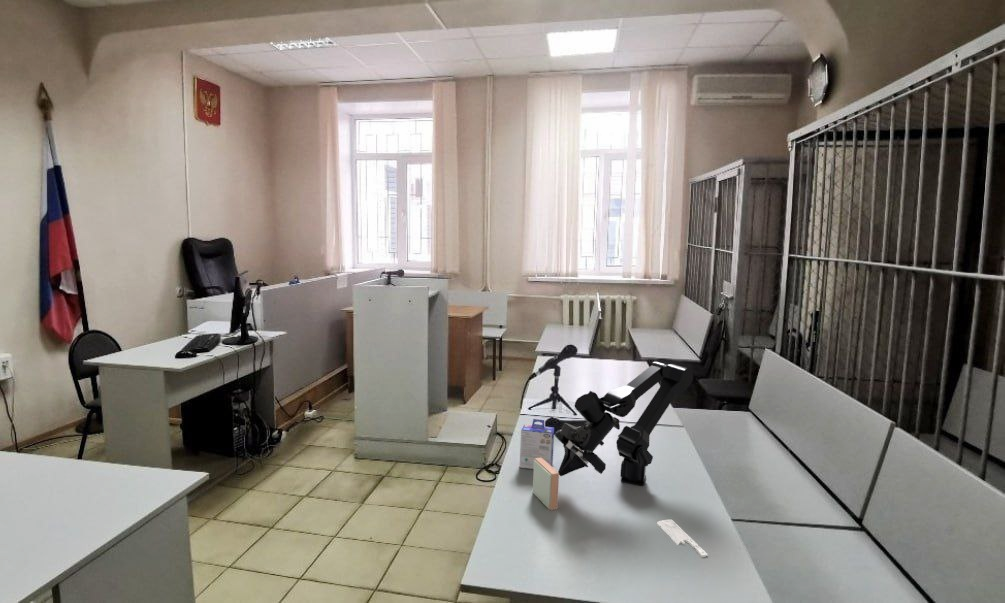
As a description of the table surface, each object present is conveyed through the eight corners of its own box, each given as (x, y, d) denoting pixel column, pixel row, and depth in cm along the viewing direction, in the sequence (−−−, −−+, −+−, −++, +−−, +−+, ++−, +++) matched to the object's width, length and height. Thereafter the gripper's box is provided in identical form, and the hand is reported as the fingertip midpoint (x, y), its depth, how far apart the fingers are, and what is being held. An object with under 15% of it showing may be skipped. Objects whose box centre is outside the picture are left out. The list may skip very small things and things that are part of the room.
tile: (539, 491, 148) (541, 457, 146) (557, 508, 138) (559, 473, 137) (532, 492, 147) (533, 458, 145) (549, 510, 138) (550, 474, 136)
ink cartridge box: (553, 464, 165) (555, 419, 163) (551, 472, 159) (553, 426, 158) (522, 460, 167) (523, 416, 165) (519, 468, 161) (520, 422, 159)
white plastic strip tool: (688, 560, 119) (688, 556, 119) (654, 524, 133) (654, 520, 133) (708, 557, 120) (708, 553, 120) (672, 522, 135) (672, 518, 134)
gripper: (562, 402, 152) (526, 444, 149) (598, 425, 135) (558, 473, 132) (584, 425, 156) (549, 466, 153) (622, 450, 139) (584, 497, 136)
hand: (559, 474), depth 143 cm, fingers closed
